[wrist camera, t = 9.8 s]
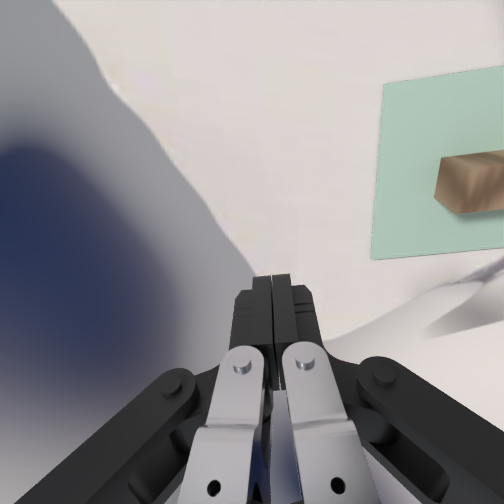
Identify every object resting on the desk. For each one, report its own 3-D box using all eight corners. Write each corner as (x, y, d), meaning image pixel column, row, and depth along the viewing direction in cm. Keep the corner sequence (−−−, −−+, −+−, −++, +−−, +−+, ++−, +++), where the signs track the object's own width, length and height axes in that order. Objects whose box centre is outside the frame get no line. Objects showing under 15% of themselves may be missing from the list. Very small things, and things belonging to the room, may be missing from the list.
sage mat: (383, 84, 32) (385, 84, 31) (580, 54, 30) (585, 53, 29) (370, 258, 43) (371, 260, 42) (512, 244, 41) (515, 246, 40)
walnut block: (465, 169, 30) (588, 154, 29) (441, 157, 35) (547, 144, 34) (455, 214, 33) (568, 202, 32) (433, 197, 37) (532, 186, 36)
